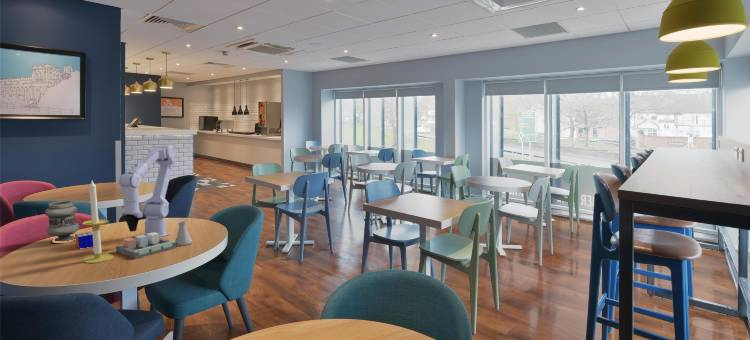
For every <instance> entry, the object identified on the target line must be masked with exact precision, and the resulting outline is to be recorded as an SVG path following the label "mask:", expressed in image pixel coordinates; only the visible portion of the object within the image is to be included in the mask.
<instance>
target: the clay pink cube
mask: <svg viewBox="0 0 750 340" xmlns="http://www.w3.org/2000/svg"><path fill="white" fill-rule="evenodd" d="M122 242H123V243H122V246H124V247H126V248H129V249H135V248H136V238H133V237H127V238H123V239H122Z"/></svg>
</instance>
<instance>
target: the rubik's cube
mask: <svg viewBox="0 0 750 340" xmlns="http://www.w3.org/2000/svg"><path fill="white" fill-rule="evenodd" d="M74 235H75V236H74V237H75V238H76V241H75V247H76V246H77V247H78V248H79V249H78V248H77V247H76V248H77V249H78V250H81V249H80V248H85V249H88V248H87V247H90V248H94V247H93V234H92V231H87V232H81V233H76V234H75V233H74Z"/></svg>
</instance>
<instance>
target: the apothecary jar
mask: <svg viewBox="0 0 750 340" xmlns="http://www.w3.org/2000/svg"><path fill="white" fill-rule="evenodd" d="M77 212H78V207H77V206H76V205H74V204H73V201H72V200H61V201H54V202H50V203H49V204H48V208H46V209H45V211H44V214H45V216H47V217H48V222H49V226H48V227H47V228H46V233H47V234H48V235H50V236H52V237H56V238H54V239H55V241H69V240H73V239H76V238H75V236H74V234H75V233H77V232H78V231H79V230H80V228H81V226H80V224H79V223H77V221H76V213H77Z"/></svg>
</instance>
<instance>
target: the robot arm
mask: <svg viewBox="0 0 750 340" xmlns="http://www.w3.org/2000/svg"><path fill="white" fill-rule="evenodd" d="M148 151H149V153H148V154H147V155H146V157H145V158H144V159H143V160H142V162H136V163H134V165H133V167H131V169H129V170H128V172H127V173H123V174H122V175H121V176H120V177H119V180H118V184H119V186H120V188H121V191H122V197H123V198H122V201H123V208H121V209H120V210H121V214H122V215H124V216H123V219H124V220H125V222H126V224H127V227H128V230H129V232H131V233H132V232H136V231H137V230H138V224H139V221H140V219H141V218H143V217H144V216H145V217H146V219H145V220H144V234H142V235H145V236H147V234H149V233H153V232H155V233H159V238H162V237H165V236H169V235H171V234H170V233H169V232H166V231H167V230H166V217H167V216H168V214H169V210H170V209H169V205H170V203H169V201H168V200H167V199H166V194H167V190H168V186H169V182H170V177H171V174H172V169H173V165H174V164H175V158H176V155H177V152H176V148H175V147H174V146H173V145H151V147H149V150H148ZM155 162H156V164H158V165H159V168H158V169H159V170H158V174H157V177H156V181H155V185H154V189H153V194H152V196H151V197H150V198H149V199H147V200H146V202H145V204H144V206H143V208H142V211H141V210H140V202H139V186H140V185H141V181H142V179H143V177H144V176H145V175H147V173H148V172H149V167H150V166H152V165H153V164H154V163H155Z"/></svg>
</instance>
